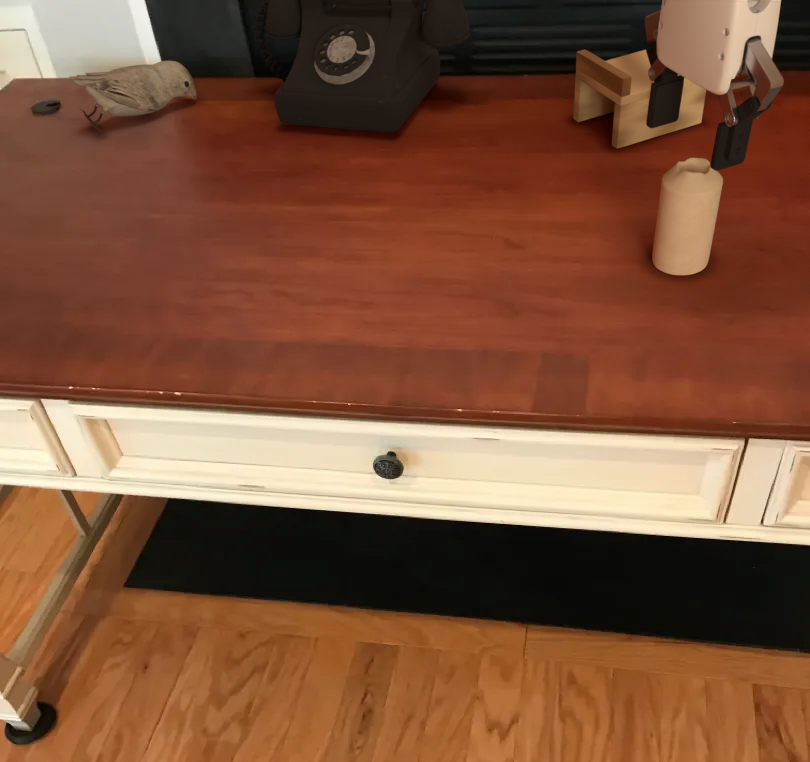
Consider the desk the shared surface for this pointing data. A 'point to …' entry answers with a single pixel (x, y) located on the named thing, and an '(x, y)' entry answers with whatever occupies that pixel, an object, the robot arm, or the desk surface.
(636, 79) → the wooden stand
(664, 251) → the candle
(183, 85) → the decorative bird
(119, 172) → the desk surface
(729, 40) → the robot arm
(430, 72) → the rotary telephone
